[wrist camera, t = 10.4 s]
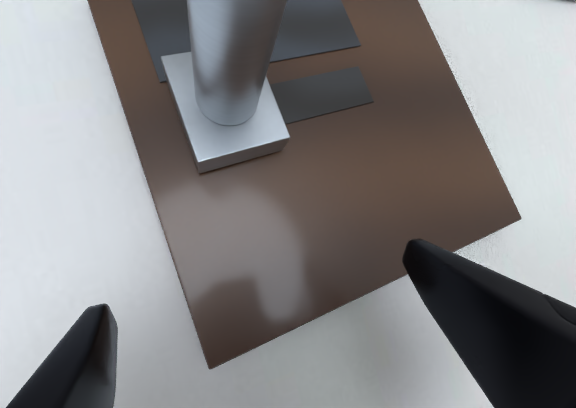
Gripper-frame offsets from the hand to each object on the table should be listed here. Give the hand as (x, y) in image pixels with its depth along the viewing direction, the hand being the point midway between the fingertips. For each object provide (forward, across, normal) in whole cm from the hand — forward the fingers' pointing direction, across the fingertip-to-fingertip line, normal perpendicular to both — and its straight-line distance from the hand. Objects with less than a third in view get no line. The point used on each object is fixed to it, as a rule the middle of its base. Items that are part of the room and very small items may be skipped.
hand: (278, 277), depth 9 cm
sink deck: (+11, -6, -1) cm, 12 cm away
